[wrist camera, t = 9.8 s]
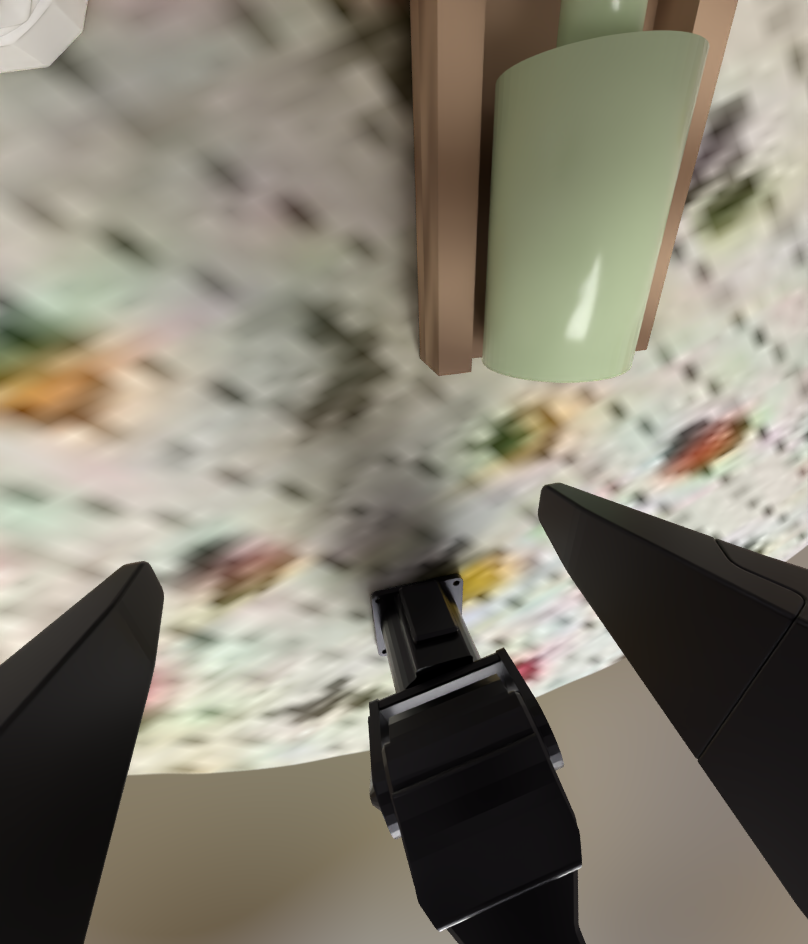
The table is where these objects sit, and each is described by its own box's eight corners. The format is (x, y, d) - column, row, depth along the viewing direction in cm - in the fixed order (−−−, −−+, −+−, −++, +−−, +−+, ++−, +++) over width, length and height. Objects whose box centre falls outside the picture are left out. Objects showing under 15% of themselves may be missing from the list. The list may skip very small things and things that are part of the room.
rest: (605, 336, 22) (646, 349, 19) (420, 358, 20) (438, 375, 17) (678, -20, 15) (756, -71, 12) (408, -38, 13) (437, -103, 11)
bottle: (586, 338, 20) (665, 375, 15) (467, 348, 19) (507, 388, 14) (661, -81, 13) (859, -286, 8) (480, -78, 13) (564, -291, 7)
